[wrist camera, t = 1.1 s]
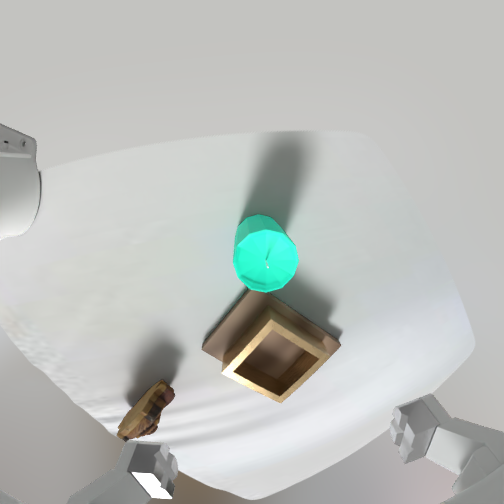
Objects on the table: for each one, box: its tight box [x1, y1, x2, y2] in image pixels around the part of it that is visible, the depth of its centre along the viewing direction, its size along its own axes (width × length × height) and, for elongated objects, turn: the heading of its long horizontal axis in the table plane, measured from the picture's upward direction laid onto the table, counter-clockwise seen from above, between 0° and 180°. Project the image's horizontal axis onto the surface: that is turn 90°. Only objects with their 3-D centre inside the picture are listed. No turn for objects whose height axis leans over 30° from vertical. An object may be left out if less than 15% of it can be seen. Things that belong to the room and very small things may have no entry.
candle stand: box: [202, 288, 341, 403], centre depth 38 cm, size 16×12×6 cm
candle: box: [233, 214, 299, 292], centre depth 31 cm, size 6×6×12 cm
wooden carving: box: [117, 380, 175, 442], centre depth 38 cm, size 16×5×10 cm, turn 144°
